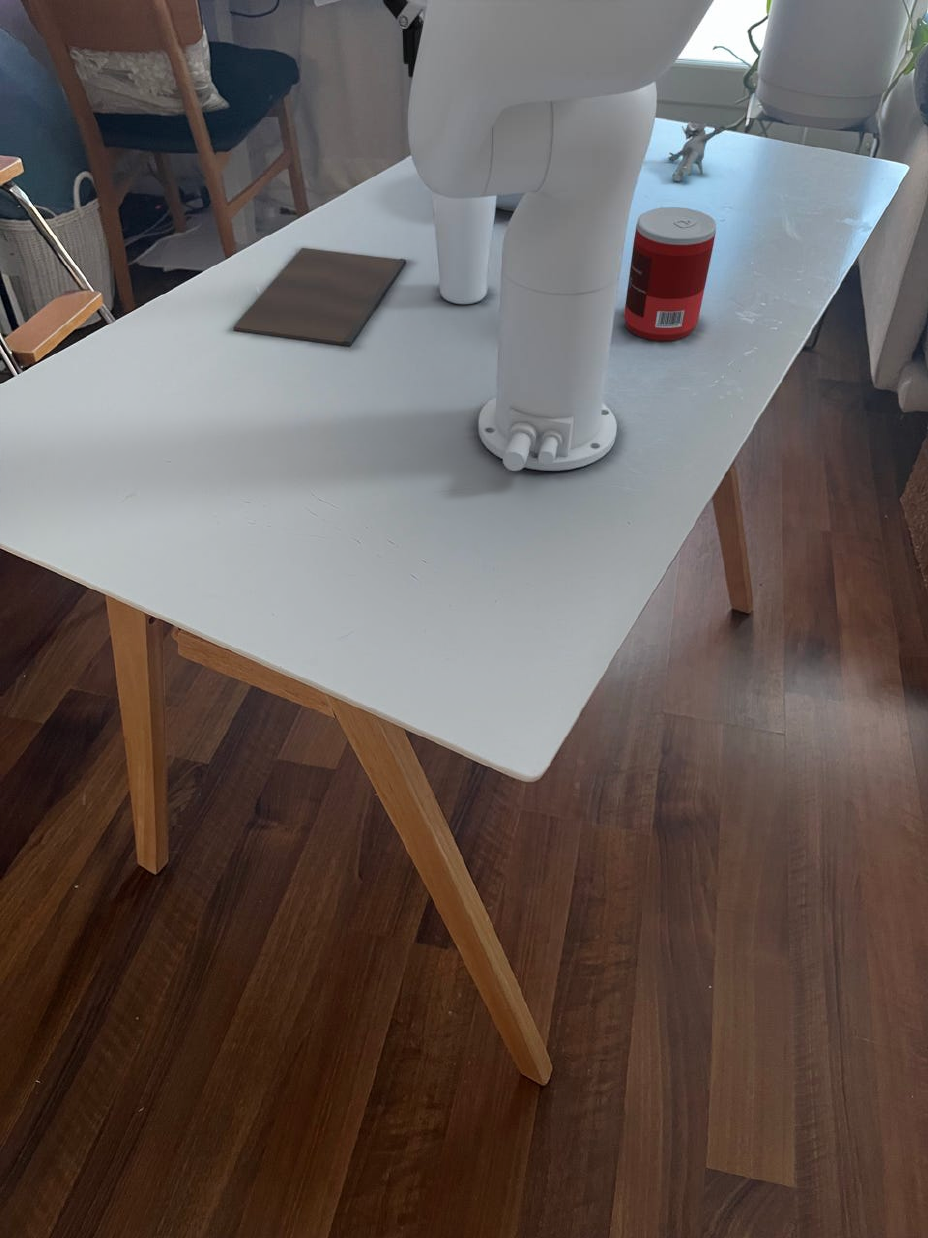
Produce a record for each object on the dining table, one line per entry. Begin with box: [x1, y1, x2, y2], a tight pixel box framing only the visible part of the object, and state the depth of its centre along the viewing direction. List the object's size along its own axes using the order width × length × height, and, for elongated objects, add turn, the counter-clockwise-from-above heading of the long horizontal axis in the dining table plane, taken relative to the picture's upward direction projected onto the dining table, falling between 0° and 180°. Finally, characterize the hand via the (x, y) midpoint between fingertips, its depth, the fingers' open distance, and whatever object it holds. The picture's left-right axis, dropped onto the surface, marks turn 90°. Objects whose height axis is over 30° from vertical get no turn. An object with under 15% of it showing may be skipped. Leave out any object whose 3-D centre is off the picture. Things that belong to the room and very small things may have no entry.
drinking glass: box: [431, 190, 497, 305], centre depth 99 cm, size 7×7×15 cm
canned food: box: [623, 206, 717, 342], centre depth 96 cm, size 8×8×11 cm
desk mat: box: [232, 247, 407, 347], centre depth 104 cm, size 20×13×1 cm, turn 166°
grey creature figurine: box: [667, 120, 727, 183], centre depth 129 cm, size 10×6×9 cm
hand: (464, 77), depth 89 cm, fingers open, 9 cm apart
